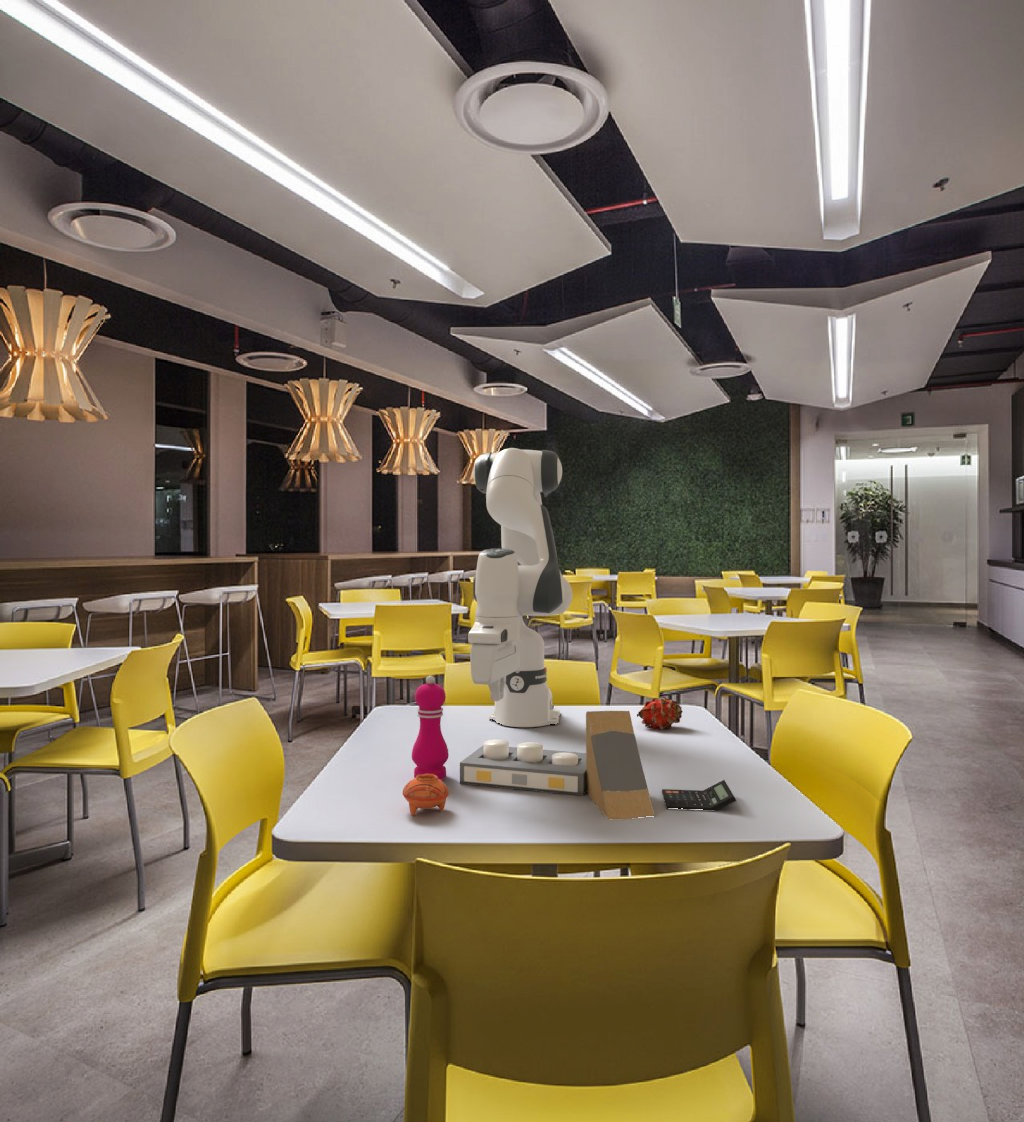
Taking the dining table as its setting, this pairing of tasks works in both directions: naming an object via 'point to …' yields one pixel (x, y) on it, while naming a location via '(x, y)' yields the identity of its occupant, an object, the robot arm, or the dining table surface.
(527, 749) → the button middle
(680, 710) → the dragon fruit
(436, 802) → the pot
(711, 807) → the calculator
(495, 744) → the ball
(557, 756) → the button container side
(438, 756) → the pepper mill
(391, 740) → the dining table surface
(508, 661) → the robot arm
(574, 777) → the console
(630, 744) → the sandwich container
